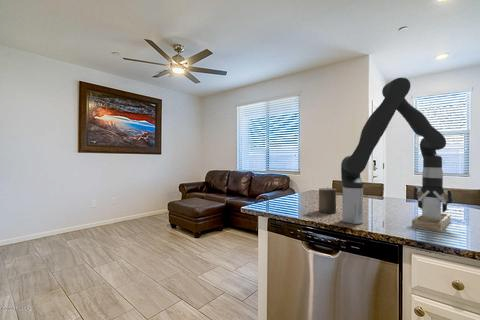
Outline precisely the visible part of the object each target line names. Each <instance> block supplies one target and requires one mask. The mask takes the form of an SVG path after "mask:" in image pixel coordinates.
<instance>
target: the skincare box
mask: <svg viewBox="0 0 480 320" xmlns="http://www.w3.org/2000/svg"><path fill="white" fill-rule="evenodd" d="M421 213H422V217H425V218H431V219H438V220H441V213H442V201H441V200H440V199H439V198H433V197H426V196H425V197H424V198H423V199H422V209H421Z"/></svg>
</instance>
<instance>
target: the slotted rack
mask: <svg viewBox="0 0 480 320" xmlns="http://www.w3.org/2000/svg"><path fill="white" fill-rule="evenodd" d="M450 222H451V214H449V213H444V212H441V220H438V219H431V218H425V217H422V212H421V213H420V214H419V215H417V216H416V217H414V218H412V219H411V227H412V228H413V229H419V230H425V231H430V232H431V231H432V232H436V233H442V232H443V230H444V229H445V228H447V226H448V225H449V224H450Z"/></svg>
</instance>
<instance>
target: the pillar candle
mask: <svg viewBox="0 0 480 320" xmlns="http://www.w3.org/2000/svg"><path fill="white" fill-rule="evenodd" d="M318 212H319V213H323V214H336V213H337V189H336V188H329V187H328V186H327V187H325V188H324V187H323V188H322V187H321V188H318Z"/></svg>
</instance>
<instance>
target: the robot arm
mask: <svg viewBox="0 0 480 320" xmlns="http://www.w3.org/2000/svg"><path fill="white" fill-rule="evenodd" d="M410 90H411V82H410V80H409V79H408V78H407V77H403V76H402V77H397V78H394V79H393V80H391V81H390V82H388V83H386V84H385V85H384V86H383V87H382V91H381V94H382V96H383V97H384V99H383V100H382V102H381V103H380V104H379V106H377V108H376V109H375V110H373V112H372V114H370V116H368V118H367V120H366V121H365V124H364V126H363V127H362V130H361V133H360V135H359V136H360V137H359V140H358V144H357V146H356V147H355V150H354V151H353V153H352V154H351V155H348V156H345V157H344V158H343V159H342V161H341V163H340V164H341V165H340V175H341V182H342V205H341V206H342V209H341V210H342V213H341V214H342V219H341V220H342V221H341V222H344V223H347V224H354V225H357V224H358V225H359V224H363V223H364V182H363V181H362V178H361V173H362V172H363V171H364V170H365V169H366V167H367V165H368V162H369V160H370V158H371V156H372V153H373V151H374V149H375V148H376V146H377V145H378V143H379V142H380V141H381V140H380V139H381V138H382V136H383V135H384V133H385V131H386V130H387V128H388V126H389V124H390V122H391V120H392V118H393V117H394V115H395V114H396V111H397V112H398V113H399V114H400V115H401V116H402V117H403V118H404V120H405V121H406V122H407V123H408V125H409V127H410V128H411V130H412V131H413V132H414V134H415V135H417V136H420V137H422V139H421V140H420V142H419V149H420V152H421V157H422V159H423V160H422V164H423V165H422V174H421V175H422V178H421V180H422V181H421V184H422V185H421V187H418V186H416V187H413V196H412V197H413V200H416V201H417V206H418V208H419V209H421V210H422V199H423V198H424V197H425V196H426V197H433V198H439V199H440V200H441V213H445V212H447V211H448V204H452V203H453V191H452V190H451V189H444V188H443V187H444V186H443V181H444V178H443V177H444V173H443V158H442V156H440V155H439V154H437V151H440V150H443V149H444V148H445V147H446V145H447V140H446V138H445V136H444V135H443V134H442V133H441V132H440V131H438V129H436V127H434V126H432V124H431V123H430V122H429V120H428V119H427V117H426V116H425V115H424V113H422V112H421V111H420V110H419V109H418V108H417V107H414V106H413V105H412V104H410V102H408V100H407V99H406V96H407V95H408V94H409V93H410ZM419 192H422V194H421V196H420V197H418V195H419ZM444 193H445V195H446V196H447V199H446V198H445V197H444V196H443V194H444Z"/></svg>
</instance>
